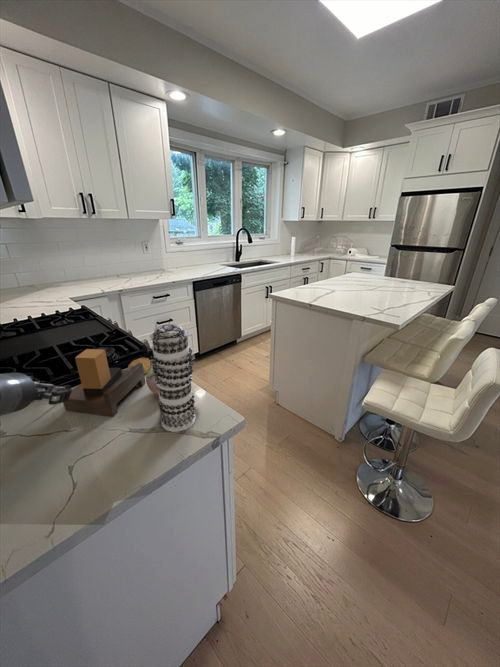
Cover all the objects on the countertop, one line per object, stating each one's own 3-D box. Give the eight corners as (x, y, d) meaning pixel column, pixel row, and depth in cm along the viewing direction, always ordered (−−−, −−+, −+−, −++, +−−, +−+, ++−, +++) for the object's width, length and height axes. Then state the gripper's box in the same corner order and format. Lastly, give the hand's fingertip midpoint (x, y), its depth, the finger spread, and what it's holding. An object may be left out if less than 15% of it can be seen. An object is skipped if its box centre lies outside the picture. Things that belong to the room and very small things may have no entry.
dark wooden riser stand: (65, 410, 73) (58, 387, 70) (104, 378, 88) (100, 359, 85) (113, 416, 71) (108, 393, 68) (145, 383, 85) (142, 363, 83)
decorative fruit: (166, 382, 86) (162, 353, 82) (185, 389, 82) (182, 360, 79) (141, 397, 79) (135, 366, 75) (161, 406, 75) (157, 374, 71)
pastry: (135, 362, 98) (134, 352, 96) (155, 362, 98) (154, 352, 96) (125, 376, 89) (124, 366, 87) (147, 376, 89) (145, 366, 88)
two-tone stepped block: (103, 395, 73) (94, 358, 68) (84, 394, 73) (74, 357, 69) (122, 373, 83) (115, 340, 79) (105, 373, 83) (98, 339, 79)
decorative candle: (199, 429, 67) (192, 334, 57) (159, 436, 65) (145, 338, 55) (196, 406, 75) (189, 319, 66) (160, 411, 73) (148, 322, 63)
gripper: (46, 384, 51) (85, 377, 67) (-38, 364, 49) (23, 362, 65) (32, 424, 50) (75, 408, 66) (-54, 406, 48) (12, 393, 64)
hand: (49, 385), depth 66 cm, fingers open, 8 cm apart
